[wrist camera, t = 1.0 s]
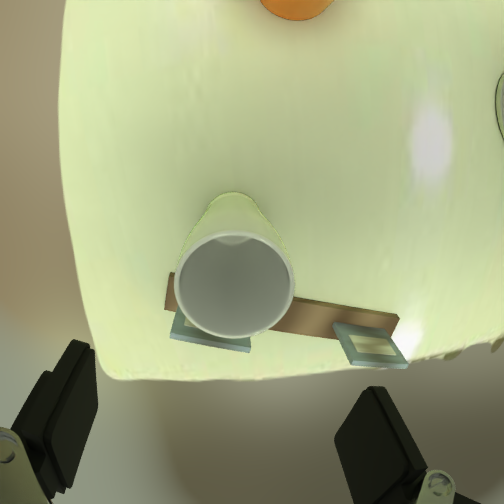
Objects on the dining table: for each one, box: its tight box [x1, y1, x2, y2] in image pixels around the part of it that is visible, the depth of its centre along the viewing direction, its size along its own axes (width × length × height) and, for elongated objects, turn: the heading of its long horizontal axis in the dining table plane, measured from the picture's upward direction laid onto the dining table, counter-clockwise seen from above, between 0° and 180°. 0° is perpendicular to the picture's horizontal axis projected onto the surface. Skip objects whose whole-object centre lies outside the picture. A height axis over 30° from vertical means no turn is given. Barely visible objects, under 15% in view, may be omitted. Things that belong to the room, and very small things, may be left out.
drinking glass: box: [174, 192, 295, 339], centre depth 24 cm, size 7×7×15 cm
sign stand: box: [164, 272, 409, 369], centre depth 32 cm, size 27×4×8 cm, turn 76°
